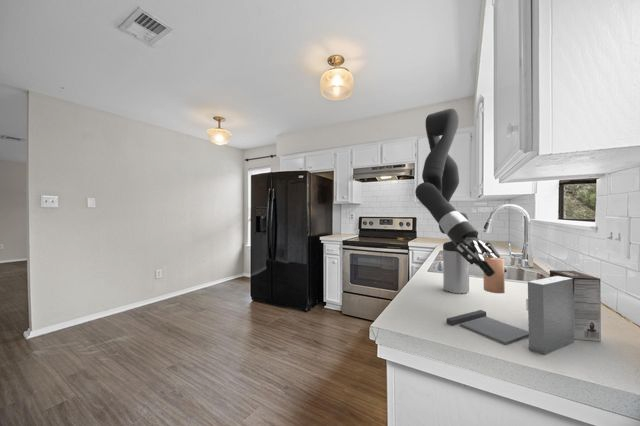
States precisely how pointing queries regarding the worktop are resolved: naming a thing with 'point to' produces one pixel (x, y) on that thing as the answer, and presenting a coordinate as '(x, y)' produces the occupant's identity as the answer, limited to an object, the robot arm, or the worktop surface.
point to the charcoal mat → (496, 330)
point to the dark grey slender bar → (466, 317)
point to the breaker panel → (550, 314)
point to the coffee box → (585, 304)
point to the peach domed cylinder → (495, 276)
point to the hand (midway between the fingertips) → (497, 273)
